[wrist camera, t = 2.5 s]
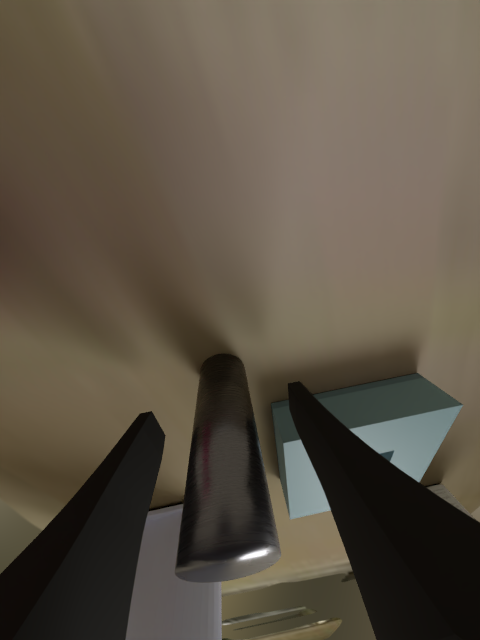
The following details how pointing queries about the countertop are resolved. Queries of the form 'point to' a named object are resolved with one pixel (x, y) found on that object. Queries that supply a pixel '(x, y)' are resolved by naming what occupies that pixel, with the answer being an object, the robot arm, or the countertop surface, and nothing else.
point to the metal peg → (225, 483)
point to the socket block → (367, 432)
